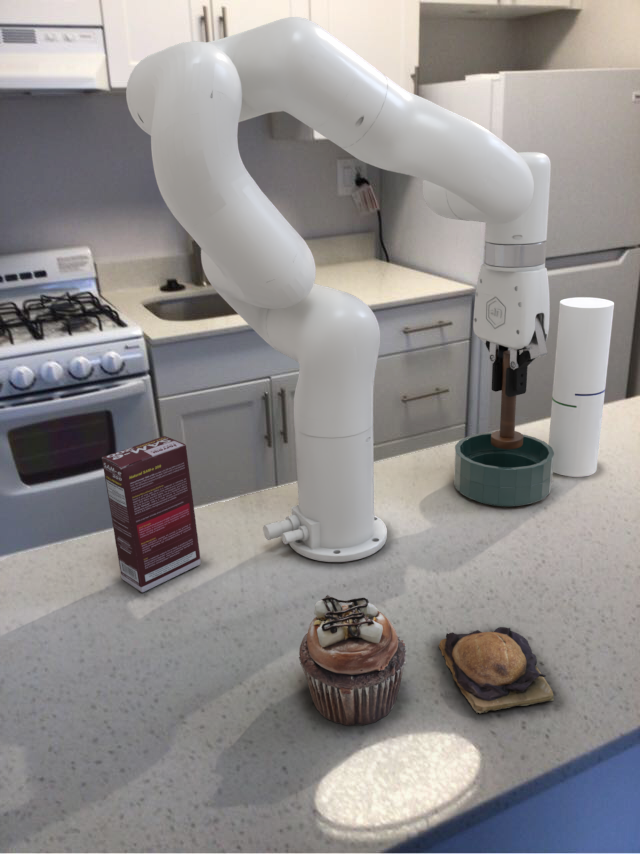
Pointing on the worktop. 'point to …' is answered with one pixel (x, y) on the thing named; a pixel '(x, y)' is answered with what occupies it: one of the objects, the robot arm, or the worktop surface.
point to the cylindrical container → (579, 384)
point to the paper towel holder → (507, 416)
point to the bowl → (503, 471)
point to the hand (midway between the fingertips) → (508, 391)
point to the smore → (495, 669)
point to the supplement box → (152, 511)
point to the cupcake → (352, 661)
